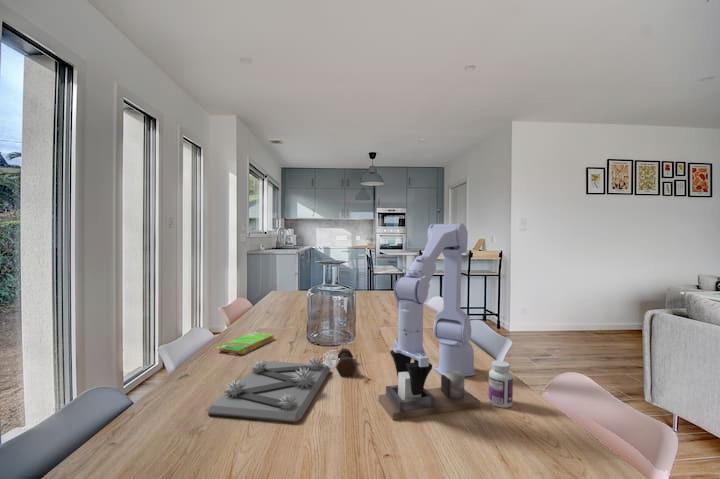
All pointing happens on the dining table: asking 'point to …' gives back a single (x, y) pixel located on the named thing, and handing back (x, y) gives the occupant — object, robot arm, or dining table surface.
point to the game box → (246, 343)
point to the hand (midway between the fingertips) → (409, 387)
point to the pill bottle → (500, 385)
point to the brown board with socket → (430, 399)
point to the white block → (405, 386)
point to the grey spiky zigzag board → (272, 391)
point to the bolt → (345, 363)
